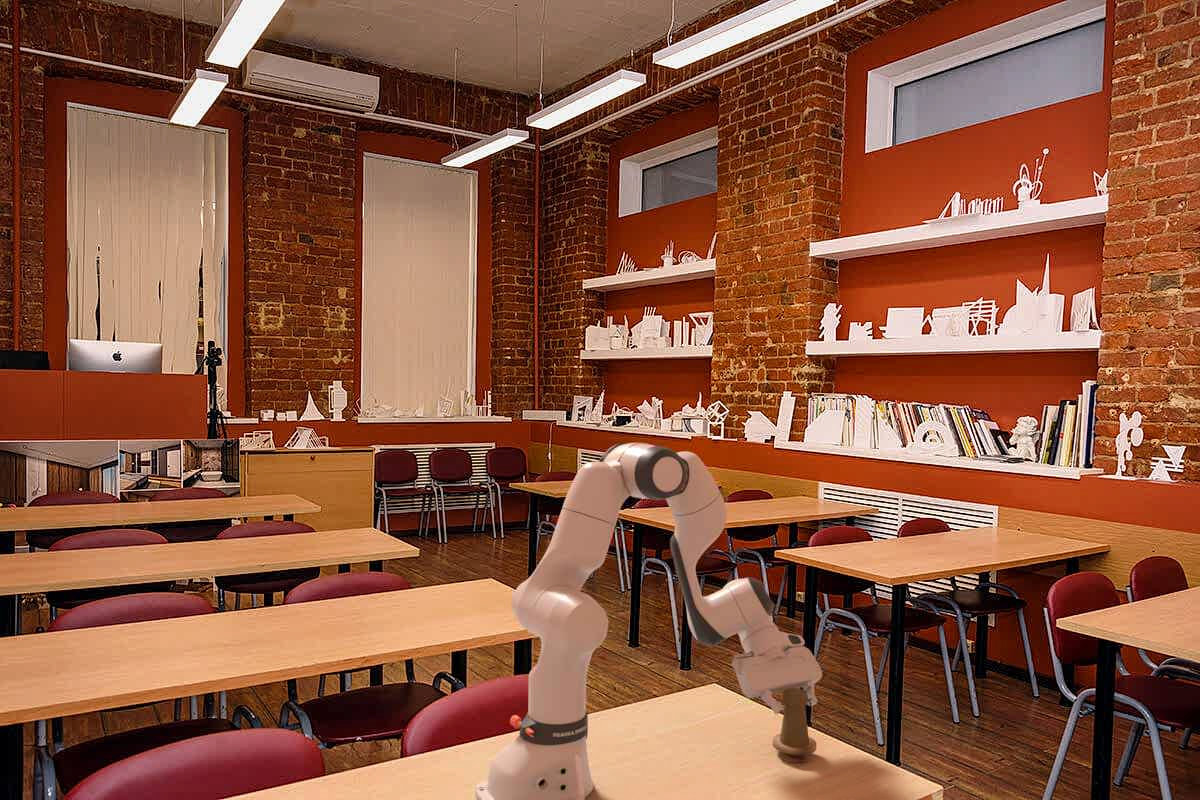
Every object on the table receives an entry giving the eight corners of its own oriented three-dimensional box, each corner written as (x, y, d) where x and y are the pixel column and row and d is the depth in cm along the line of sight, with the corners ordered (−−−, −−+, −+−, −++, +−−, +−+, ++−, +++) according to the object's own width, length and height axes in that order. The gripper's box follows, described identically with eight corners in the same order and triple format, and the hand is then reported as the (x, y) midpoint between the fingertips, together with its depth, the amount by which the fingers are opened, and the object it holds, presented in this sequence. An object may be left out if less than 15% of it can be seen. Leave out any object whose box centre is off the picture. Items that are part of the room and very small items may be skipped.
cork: (809, 749, 178) (810, 695, 177) (779, 746, 179) (780, 693, 179) (809, 737, 183) (809, 686, 183) (780, 734, 185) (780, 683, 185)
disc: (793, 769, 175) (793, 754, 175) (763, 752, 183) (763, 738, 183) (825, 759, 180) (825, 745, 180) (795, 744, 188) (795, 729, 187)
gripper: (735, 648, 182) (766, 710, 173) (807, 635, 192) (839, 692, 184) (722, 663, 186) (751, 724, 177) (793, 649, 196) (824, 706, 188)
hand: (796, 708), depth 181 cm, fingers open, 8 cm apart
